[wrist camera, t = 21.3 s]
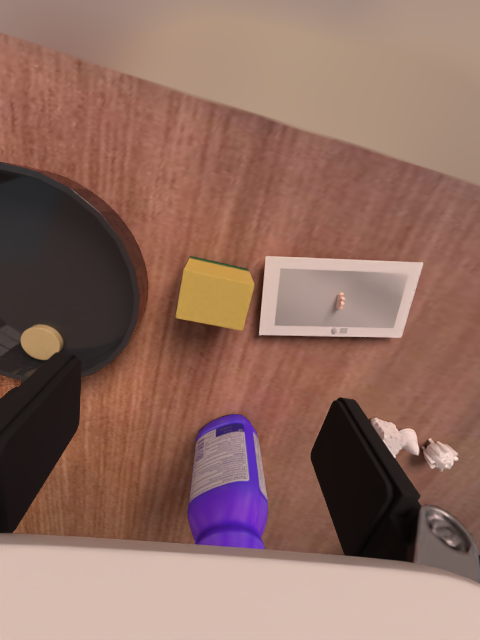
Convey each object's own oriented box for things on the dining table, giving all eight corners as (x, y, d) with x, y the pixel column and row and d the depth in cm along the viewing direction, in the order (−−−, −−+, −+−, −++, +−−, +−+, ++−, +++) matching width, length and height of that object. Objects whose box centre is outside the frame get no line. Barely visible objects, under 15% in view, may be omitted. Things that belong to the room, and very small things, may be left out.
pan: (-81, 139, 22) (-134, 128, 18) (159, 199, 24) (150, 198, 21) (-49, 346, 28) (-84, 365, 25) (138, 375, 31) (128, 395, 28)
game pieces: (358, 434, 36) (371, 455, 33) (372, 414, 35) (387, 434, 32) (432, 456, 39) (450, 478, 36) (448, 439, 38) (467, 459, 35)
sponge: (190, 255, 26) (183, 269, 21) (248, 268, 27) (254, 284, 22) (183, 296, 28) (175, 318, 23) (238, 307, 29) (242, 331, 23)
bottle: (210, 457, 36) (203, 662, 20) (188, 426, 34) (159, 628, 18) (263, 435, 35) (298, 631, 19) (243, 402, 33) (265, 592, 17)
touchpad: (263, 254, 27) (267, 258, 25) (416, 260, 28) (431, 265, 26) (257, 330, 30) (260, 339, 28) (395, 333, 31) (407, 342, 29)
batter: (24, 321, 27) (18, 324, 26) (63, 327, 28) (59, 330, 27) (26, 353, 28) (21, 357, 28) (63, 358, 29) (59, 362, 28)
